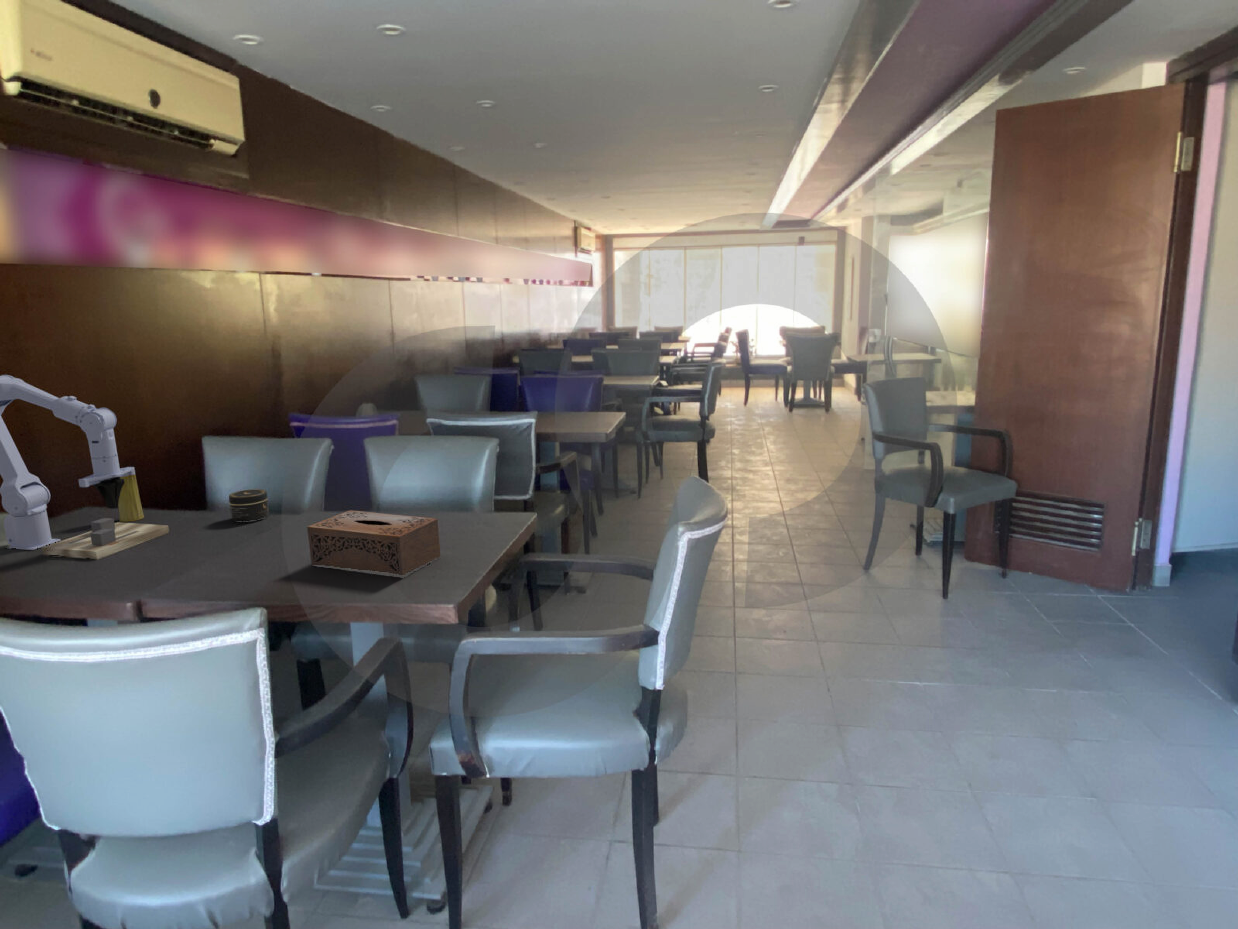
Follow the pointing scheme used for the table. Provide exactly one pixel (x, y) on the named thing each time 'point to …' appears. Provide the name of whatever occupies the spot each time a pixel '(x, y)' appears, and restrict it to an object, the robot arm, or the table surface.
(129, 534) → the wooden board
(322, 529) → the tissue box cover
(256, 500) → the jar
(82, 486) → the robot arm
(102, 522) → the inner knob
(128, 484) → the vase
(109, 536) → the outer knob
